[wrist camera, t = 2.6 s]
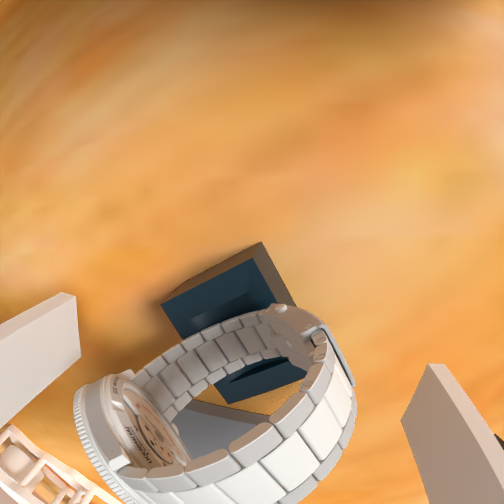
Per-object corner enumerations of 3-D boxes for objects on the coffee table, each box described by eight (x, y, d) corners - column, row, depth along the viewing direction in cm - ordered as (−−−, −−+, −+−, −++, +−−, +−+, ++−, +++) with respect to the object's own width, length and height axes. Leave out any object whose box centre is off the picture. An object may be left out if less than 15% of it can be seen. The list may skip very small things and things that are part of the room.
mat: (119, 376, 17) (112, 385, 16) (309, 421, 16) (309, 432, 15) (135, 475, 20) (131, 483, 19) (271, 509, 19) (270, 518, 18)
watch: (155, 296, 16) (6, 430, 5) (295, 223, 14) (300, 352, 3) (210, 380, 16) (135, 548, 6) (346, 324, 15) (400, 526, 4)
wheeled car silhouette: (4, 432, 24) (-27, 462, 17) (21, 411, 21) (-20, 449, 14) (117, 529, 26) (99, 564, 18) (161, 527, 23) (142, 572, 16)
